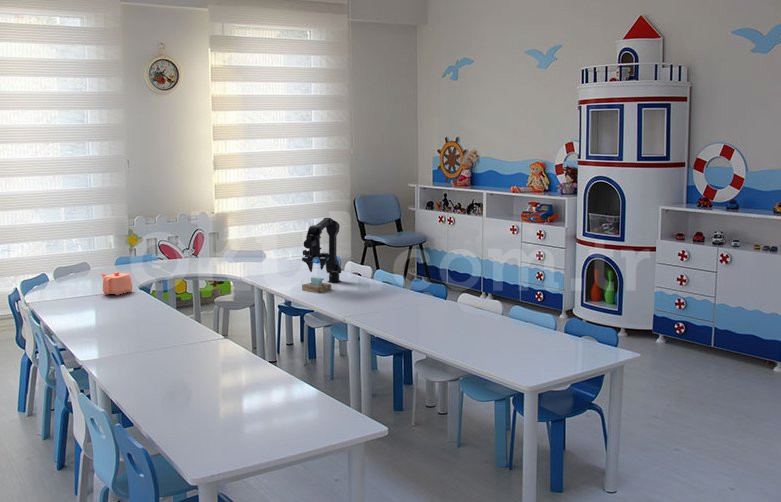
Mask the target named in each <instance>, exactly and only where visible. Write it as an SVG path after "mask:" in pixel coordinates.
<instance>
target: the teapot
mask: <svg viewBox="0 0 781 502" xmlns="http://www.w3.org/2000/svg"><path fill="white" fill-rule="evenodd" d="M99 274H101V276H102V278H103V279H102V292H103V295H109V294H115V295H114V296H120V295H119V294H121V295H123V293H124V294H128V293H130V292H132V291H133V281H132V276H131V273H123V272H120V271H114V272H113V273H111V274H108V275H107V274H106V273H103V272H100V273H99ZM127 292H128V293H127Z"/></svg>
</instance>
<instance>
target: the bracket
mask: <svg viewBox="0 0 781 502" xmlns="http://www.w3.org/2000/svg"><path fill="white" fill-rule="evenodd" d="M323 281H325V278H323V277H319V276H312V277H310V283H311V285H316V286H321V285H322V283H323Z"/></svg>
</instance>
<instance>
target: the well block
mask: <svg viewBox="0 0 781 502" xmlns="http://www.w3.org/2000/svg"><path fill="white" fill-rule="evenodd" d="M331 290H332V284H331V283H328V282H327V283H326V282H322V285H321V286H316V285H311V282H308V283H304V284H301V291H304V292H305V291H306V292H309V293H313V294H314V293H315V294H320V293H324V292H327V291H331Z"/></svg>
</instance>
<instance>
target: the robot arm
mask: <svg viewBox="0 0 781 502" xmlns="http://www.w3.org/2000/svg"><path fill="white" fill-rule="evenodd" d="M340 228H341V227H340V223H338V221H336V220H334V219H333V218H331V217H323V219H322V220H320V222H318V223H316V224H314V225H310V226H309V227H308V229H307V233H306V237H305V240H304V241H303V247H304V248H305V249H304V250H302V255H303V256H302V257H301V262H303V263H305V264H306V265H307V268H308V269H309V272H310V273H312V272H313V267H314V266H313V265H314V260H316V259H319V267H320V270H323V269H324V266H325V270H326V273H327V274H329V275H328V280H327V283H332V284H333V283H334V284H336V283H339V282H342V280H340V274H342V267H341V265H340V261H339V260H338V257H337V237H338V236H337V235H338V234H339V231H340ZM325 229H326V233H327V235H328V252H321V250H322V247H321V238H322V237H321V234H322V233H323V230H325Z"/></svg>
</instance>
